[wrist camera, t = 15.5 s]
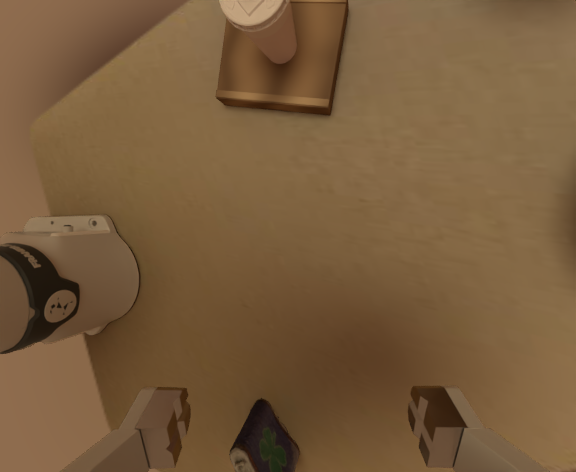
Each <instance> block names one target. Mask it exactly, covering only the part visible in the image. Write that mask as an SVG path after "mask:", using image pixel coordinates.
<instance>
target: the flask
mask: <svg viewBox="0 0 576 472" xmlns="http://www.w3.org/2000/svg"><path fill="white" fill-rule="evenodd" d="M278 418H279V417H277V416H276V415H275V414H274V411H273V409H272V408H271V406H270V404H269V402H268V401H266V400H264V399H262V398H261V399H260V400H257V401H256V403H255V404H254V406H253V407H252V409H251V411H250V413H249V415H248V418H247V420H246V422H245V423H244V425H243V427H242V429H241V431H240V433H239V435H238V436H237V438H236V440H235V442H234V444H233V446H232V448H231V450H230V454H229V455H230V460H231V462H232V464H233V466H234V468H235V471H236V472H294V471H295V468H296V464H297V461H298V457H299V449H298V446H297V444H296V442H295V440H292V439H291V437H290V435H289V433H288V431H287V429H286V427H285V426H284V425H283V424H282V423H280V422H279V420H278Z"/></svg>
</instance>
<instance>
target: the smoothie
mask: <svg viewBox="0 0 576 472" xmlns="http://www.w3.org/2000/svg"><path fill="white" fill-rule="evenodd" d="M219 2H220V6H221V8H222V10H223V12H224V13H225V15H226V17H227V19H228V21H229V22H230V23H231V24H232V25H233V26H234V27H236V28H238V29H240V30H242V31H243V32H244V33H245V34H246V35H247V36H248V37H249V38H250V39H251V40H252V41H253V42H254V43H255V44H256V45H257V47H258V48H259V49H260V50H261V51H262V52H263V53H264V54H265V55H266V56H267V57H268V58H269V59H270V60H271V61H272V62H274V63H276V64H283V63H286V62H288V61H289V60H290V59H291V58H292V57H293V56H294V54H295V52H296V48H297V42H296V35H295V29H294V22H293V16H292V10H291V3H290V0H219Z"/></svg>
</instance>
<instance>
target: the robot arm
mask: <svg viewBox="0 0 576 472" xmlns="http://www.w3.org/2000/svg"><path fill="white" fill-rule="evenodd" d="M96 222H97V224H96ZM138 288H139V273H138V267H137V263H136V260H135V258H134V256H133V254H132V252H131V250H130V248H129V247H128V246H127V244H126V243H125V242H124V241H123V240H122V239H121V238H120V237H119V235H118V234H117V232H116V230H115V227H114V225H113V222H112V220H111V219H110V217H109V216H107V215H79V216H48V217H34V218H30V219H29V220H28V222H27V223H26V225H25V227H24V229H23V232H10V233H5V234H3V235H2V236H1V237H0V354H6V353H10V352H13V351H16V350H21V349H24V348H27V347H29V346H32V345H34V344H35V343H37V342H43V343H44V344H51V343H54V342H57V341H60V340H63V339H66V338H69V337H72V336H75V335H78V334H81V333H84V332H85V333H86V334H88V335H95V334H98V333H100V332H101V331H102V330H103V329H104V328H105V327H106V325H107V324H108V323H109V322H111V321H113V320H116V319H118V318H120V317H122V316H123V315H124V314H126V313H127V312H128V311H129V309H130V308H131V307H132V305H133V303H134V301H135V299H136V296H137V293H138ZM187 397H188V392H187V388H177V387H144V388H143V389H142V390H141V391H140V392H139V394H138V396H137V397H136V399H135V401H134V403H133V404H132V406H131V408H130V410H129V411H128V413H127V415H126V417H125V418H124V420H123V422H122V424H121V425H120V427H119V429H117V430H113V431H111V432H110V433H109V434H108V435H106V436H105V437H104V438H102V439H101V440H100V441H99V442H97V443H96V444H95V445H93V446H92V447H91V448H90V449H88V450H87V451H86V452H85V453H83V454H82V455H81V456H79V457H78V458H77V459H76V460H74V461H73V462H72V463H71V464H69V465H68V466H67V467H65V468H64V469H63V470H61V471H60V472H148V471H149V469H153V468H175V466H176V463H177V461H178V458H179V455H180V452H181V449H182V444H181V439H182V438H183V437H184V436H185V435H186V434H187V431H188V428H189V423H190V417H191V409H190V404H189V403H188V402H187V401H186V400H187ZM411 397H412V399H413V400H412V401H411V402H410V403H409V406H408V417H409V422H410V426H411V429H412V431H413V434H415V435H416V436H417V437H418V438H419V439H420V442H419V449H420V451H421V453H422V456H423V458H424V461H425V463H426V466H427V467H443V468H453V470H454V471H455V472H550V471H549V470H547V469H546V468H544V467H543V466H542V465H540V464H539V463H538V462H536V461H535V460H533V459H532V458H531V457H529V456H528V455H526V454H525V453H524V452H522V451H521V450H519V449H518V448H517V447H515V446H514V445H512V444H511V443H510V442H508V441H507V440H506V439H504V438H503V437H501V436H500V435H499V434H497V433H496V432H494V431H493V430H492V429H490V428H485V427H484V425H483V424H482V422H481V421H480V419H479V418H478V416H477V415H476V413H475V412H474V410H473V409H472V407H471V406H470V404H469V403H468V401H467V399H466V398H465V396H464V395H463V393H462V392H461V390H460V389H459V388H458V387H457V386H413V387H412V389H411Z"/></svg>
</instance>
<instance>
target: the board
mask: <svg viewBox="0 0 576 472" xmlns="http://www.w3.org/2000/svg"><path fill="white" fill-rule="evenodd" d="M290 3H291V10H292V16H293V22H294V29H295V35H296V42H297V48H296V52H295V54H294V56H293V57H292V58H291V59H290V60H289V61H288V62H286V63H283V64H276V63H274V62H272V61H271V60H270V59H269V58H268V57H267V56H266V55H265V54H264V53H263V52H262V51H261V50H260V49H259V48H258V47H257V45H256V44H255V43H254V42H253V41H252V40H251V39H250V38H249V37H248V36H247V35H246V34H245V33H244V32H243V31H242V30H240V29H238V28H236V27H234V26H233V25H232V24H231V23H230V22H229V21H228V19H226V27H225V35H224V42H223V50H222V58H221V65H220V73H219V81H218V89H217V90H216V98H217V99H218V100H219V101H221V102H222V103H223V104H224V105H229V106H240V107H250V108H261V109H271V110H281V111H292V112H302V113H313V114H323V115H330V114H331V108H332V102H333V97H334V91H335V85H336V79H337V74H338V68H339V62H340V56H341V50H342V45H343V39H344V33H345V27H346V22H347V16H348V10H349V9H348V0H290Z"/></svg>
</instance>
